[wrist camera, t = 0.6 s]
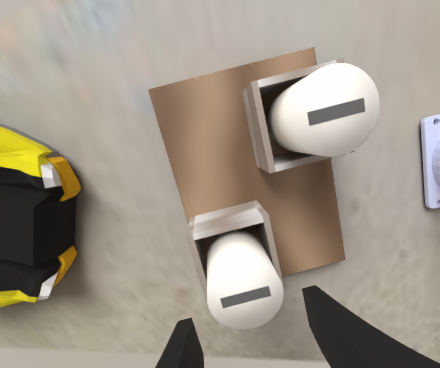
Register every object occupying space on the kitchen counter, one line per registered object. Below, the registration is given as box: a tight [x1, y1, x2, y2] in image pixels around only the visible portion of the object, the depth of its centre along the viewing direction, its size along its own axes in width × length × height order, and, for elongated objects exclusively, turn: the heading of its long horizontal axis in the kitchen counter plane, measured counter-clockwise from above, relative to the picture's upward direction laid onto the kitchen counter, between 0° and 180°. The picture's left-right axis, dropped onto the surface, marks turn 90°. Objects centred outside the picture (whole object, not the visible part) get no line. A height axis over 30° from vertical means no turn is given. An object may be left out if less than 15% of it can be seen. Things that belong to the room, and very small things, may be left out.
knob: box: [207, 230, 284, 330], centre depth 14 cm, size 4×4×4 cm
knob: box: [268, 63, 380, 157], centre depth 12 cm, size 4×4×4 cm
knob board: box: [148, 47, 354, 305], centre depth 17 cm, size 12×17×5 cm
